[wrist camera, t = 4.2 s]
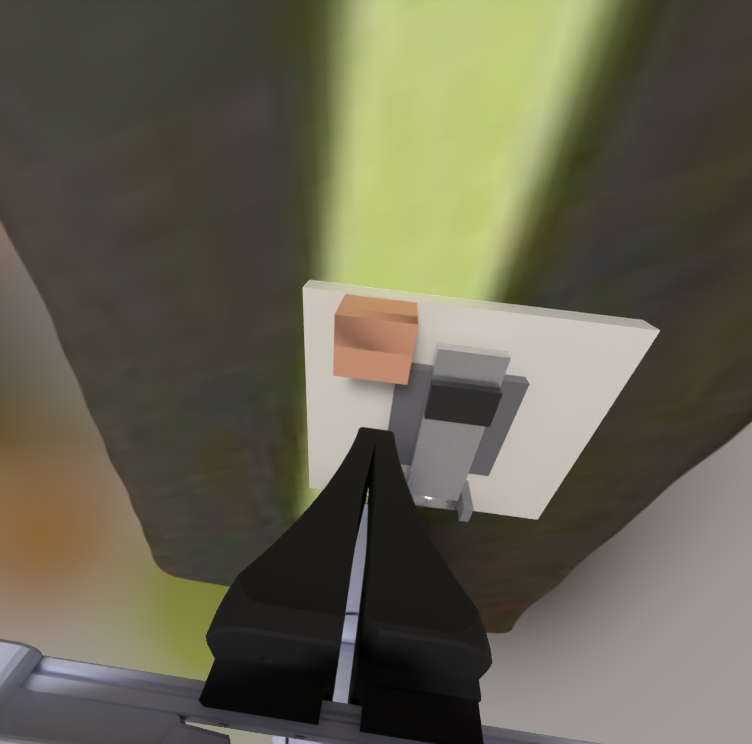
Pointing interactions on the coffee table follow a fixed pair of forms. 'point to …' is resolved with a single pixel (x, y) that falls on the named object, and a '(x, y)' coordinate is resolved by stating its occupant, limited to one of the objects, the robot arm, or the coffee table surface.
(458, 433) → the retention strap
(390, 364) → the block
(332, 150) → the coffee table surface
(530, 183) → the coffee table surface
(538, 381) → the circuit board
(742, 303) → the coffee table surface
